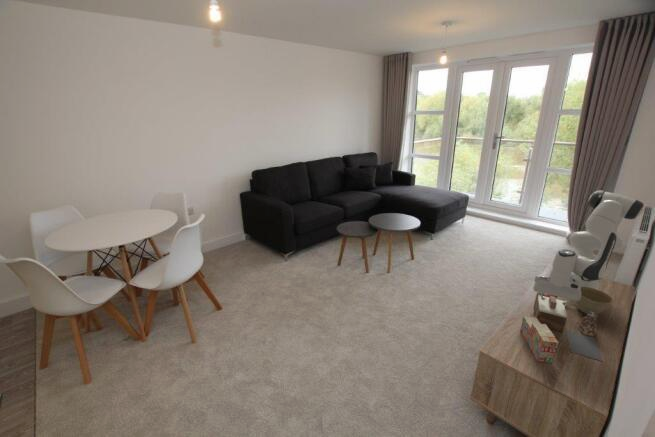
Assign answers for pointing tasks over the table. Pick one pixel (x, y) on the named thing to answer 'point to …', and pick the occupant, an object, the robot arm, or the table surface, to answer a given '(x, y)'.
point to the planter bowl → (593, 300)
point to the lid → (552, 306)
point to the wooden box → (549, 317)
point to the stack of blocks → (539, 339)
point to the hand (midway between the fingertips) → (553, 302)
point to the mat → (583, 345)
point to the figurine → (589, 324)
